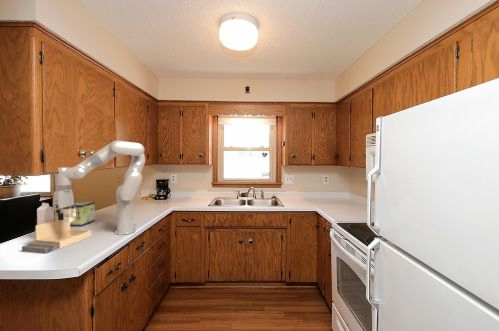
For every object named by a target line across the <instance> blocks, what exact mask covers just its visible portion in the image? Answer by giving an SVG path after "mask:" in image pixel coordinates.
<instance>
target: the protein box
mask: <svg viewBox="0 0 499 331" xmlns="http://www.w3.org/2000/svg"><path fill="white" fill-rule="evenodd" d="M75 204H76V205H75V206H74V207H73V209H76V221H73V222H70V227H84V226H86V225H89V224H92V223H94V222H95V221H96V209H95V208H96V206H95V205H96V204H95V201H78V202H75Z"/></svg>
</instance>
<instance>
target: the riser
mask: <svg viewBox="0 0 499 331" xmlns="http://www.w3.org/2000/svg"><path fill="white" fill-rule="evenodd" d="M57 250H58V249H57V244H47V243H37V242H32V243H28V244H26V245H23V246H21V252H23V253H32V254H42V255H46V254H48V253H52V252H54V251H57Z"/></svg>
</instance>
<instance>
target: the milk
mask: <svg viewBox="0 0 499 331" xmlns="http://www.w3.org/2000/svg"><path fill="white" fill-rule="evenodd" d="M52 208H53V206H50V203H49V202H48V203H47V202H42V203H41V206H39V207H38V208H37V209H36V216H37V217H36V221H37V222H36V223H37V224H36V225H40V224H44V223H48V222H52V221H55V211H54V210H52Z"/></svg>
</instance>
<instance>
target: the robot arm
mask: <svg viewBox="0 0 499 331" xmlns="http://www.w3.org/2000/svg"><path fill="white" fill-rule="evenodd" d="M118 155H124V156H125V155H126V156H131V160H130V163H129V166H128V168H127V170H126V172H125V174H124V182H123V184H121V185H119V186H118V187H117V189H116V192H115V196H116V198H115V199H116V218H117V220H116V222H117V224H116V226H117V229H116V230H115V231H114V234H115V235H119V236H120V235H121V236H122V235H130V234H134V233H136V231H137V229H136V228H135V227H136V226H137V225H138V224H137V222H134V202H133V200H134V198H135V197H136V195H137V193H138V192H139V189H140V186H141V184H142V181H143V175H142V172H143V169H144V166H145V164H146V156H145V146H144V145H143V144H142V143H140V142H134V141H126V140H125V141H124V140H119V139H117V140H114V141H111V142H110V143H108V144H106V145H105V146H104V147H102V148H101V149H99V150H97V151H96V152H94V153H93V154H91V155H90V156H89V157H88V158H86V159H84V160H83V161H81V162H80V163H78V164H76V165H74V166H72V167H71V166H70V167H67V166H59V167H60V168H58V167H57V168H58V172H59V173H58V174H55V173H54V185H55V191H54V192H53V195H52V196H53V197H52V207H53V208H52V210H54V213H55V212H56V213H58V220H63V213H62V211H63V208H65V209H73V207H74V206H75V205H76V204H75V203H76V202H75V198H74V197H75V196H74V192H73V189H72V187H73V185H72V180H81V179H83V178H85V176H86V175H87V174H88V173H89V172H91V171H93V170H94V169H96V168H98V167H102V166H103V165H105V164H106V163H108V162H109V161H111V160H112V159H114V158H115V157H117V156H118Z"/></svg>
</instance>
